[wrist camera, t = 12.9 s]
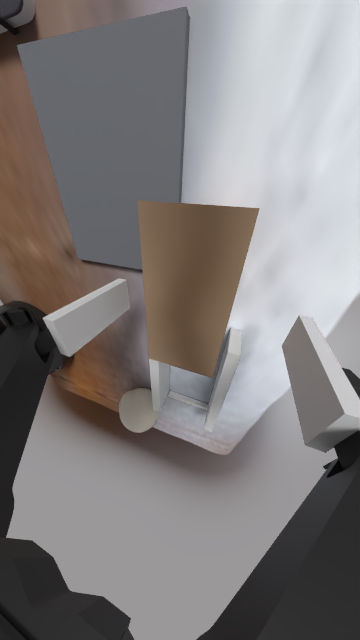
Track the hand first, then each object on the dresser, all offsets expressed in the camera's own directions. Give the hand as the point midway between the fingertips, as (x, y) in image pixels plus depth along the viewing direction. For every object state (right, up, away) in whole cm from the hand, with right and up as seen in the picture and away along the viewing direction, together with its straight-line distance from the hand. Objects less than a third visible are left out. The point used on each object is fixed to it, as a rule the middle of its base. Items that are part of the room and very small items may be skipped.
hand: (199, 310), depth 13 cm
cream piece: (-8, -14, +19) cm, 25 cm away
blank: (+1, +4, +3) cm, 5 cm away
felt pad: (-7, +11, +1) cm, 13 cm away
